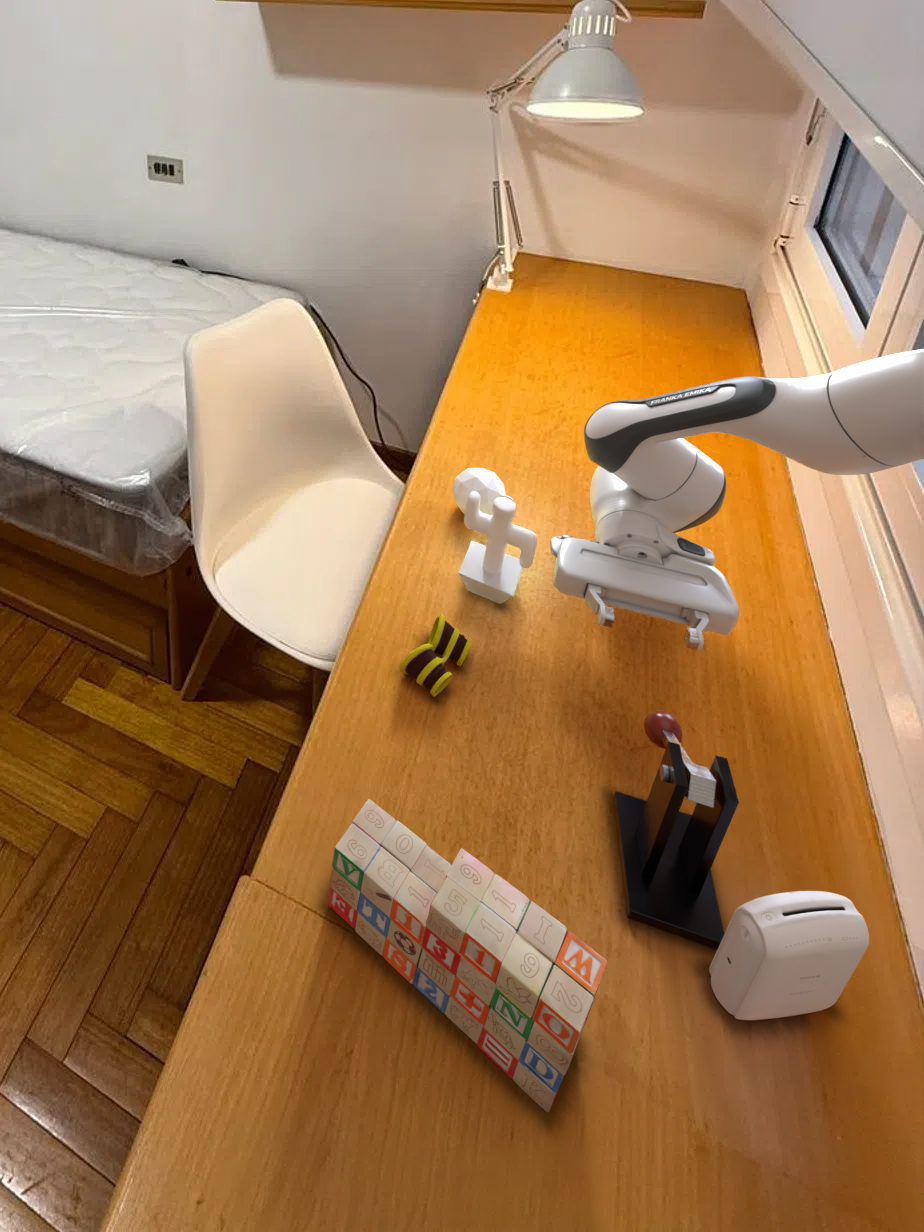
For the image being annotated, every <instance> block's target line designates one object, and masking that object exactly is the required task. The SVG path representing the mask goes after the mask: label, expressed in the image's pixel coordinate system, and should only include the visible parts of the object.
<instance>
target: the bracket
mask: <svg viewBox="0 0 924 1232" xmlns="http://www.w3.org/2000/svg"><path fill="white" fill-rule="evenodd" d="M709 771H710V772H711V774H712V775H713V777H714V778H715V779H716V781H717V785H716V794H715V803H714V808H712V807H709V806H706V805H702V804H699V803H696V802H695V805H694V808H693V811H692V813H691V814H689V813H686V812H683V811H681V808H682V805H683V802H684V800H685V798H686V797H685V795H686V792H687V790H688V782H687V778H686V773H685V768H684V763H683V758H682V754H681V749H680V745H679V744H677V743H673V742H670V741H668V744H667V747H666V749H664V752H663V754H662V758H661V761H660V763H659V766H658V768H657V772H656V774H655V777H654V780H653V783H652V785H651V788H650V791H649V794H648V797H647V799H646V800H645V799H642V798H638V797H636V796H633V795H630V794H626V793H623V792H620V791H617V790H614V793H613V795H612V802H613V803H612V804H613V811H614V818H615V827H616V835H617V843H618V851H619V858H620V867H621V876H622V882H623V883H622V884H623V892H624V893H623V894H624V900H625V907H626V916H627V918H628V919H629V920H633V921H634V922H635V921H636V922H639V923H641V924H644V925H646V926H649V927H652V928H655V929H658V930H660V931H664V932H666V933H670V934H672V935H674V936H677V937H680V938H683V939H686V940H688V941H691V942H695V943H696V944H701V945H703V946H705V947H708V948H711V949H714V950H716V951H717V950H718V948H719V945H720V943H721V941H722V939H723V937H724V934H725V931H724V927H723V923H722V917H721V912H720V906H719V902H718V898H717V894H716V890H715V889H716V888H715V884H714V879H713V875H712V874H713V873H712V870H711V869H712V866H713V864H714V861H715V859H716V857H717V855H718V853H719V850H720V848H721V846H722V843H723V841H724V838H725V836H726V834H727V832H728V829H729V827H730V824H731V822H732V820H733V817H734V816H735V813H736V811H737V808H738V806H739V804H740V801H739V798H738V797H739V796H738V794H737V789H736V786H735V782H734V778H733V775H732V771H731V767H730V763H729V759H728V758H727V757H724V756H721V755H717V754H715V756H714V758H713V761H712V764H711V766H710V769H709Z"/></svg>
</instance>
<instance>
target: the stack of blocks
mask: <svg viewBox="0 0 924 1232" xmlns="http://www.w3.org/2000/svg"><path fill="white" fill-rule="evenodd" d="M333 849H334V850H333V857H332V864H331V867H332V870H331V876H330V882H329V892H328V897H327V906H328V907H329V908H330V909H332V910H333V911H334V912H335V913H336V914H337V915H338V916H339V917H340V918H341V919H342V920H343V921H345V922H346V923H347V924H348V925H349V926H350V927H351V928H352V929H354V932H355V933H356V934H357V935H358V936H359V937H360V938H362V939H363V940H364V941H365V942H366V943H367V944H368V946H370V947H371V948H372V949H373V950H375V952H376V953H378V954H379V955H380V956H382V958H383V959H384V960H385V961H386V962H387V963H388V964H389V965H390V966H391V967H392V968H393V969H394V970H395V971H396V972H397V973H398V974H399V975H400V976H402V977H403V978H404V979H405V980H406V981H407V982H408V983H409V984H410V985H413V986H414V988H416V990H417V991H419V992H420V993H421V994H422V995H423V996H424V998H426V999H427V1000H429V1002H430V1003H432V1004H433V1005H434V1006H435V1007H436V1008H437V1009H438V1010H439V1011H440V1012H441V1013H443V1014H444V1015H445V1016H446V1018H448V1019H449V1020H450V1021H451V1022H452V1023H453V1024H455V1026H456V1027H457V1028H458V1029H460V1031H462V1032H463V1033H464V1034H465V1035H466V1036H467V1037H468V1038H469V1039H470V1040H471V1041H472V1042H473V1043H474V1044H476V1045H477V1047H478V1049H480V1051H482V1053H484V1054H485V1055H486V1056H487V1057H488V1058H489V1059H490V1060H491V1061H492V1062H493V1063H494V1064H495V1065H496V1066H497V1067H499V1068H500V1069H501V1070H502V1071H503V1072H504V1074H506V1075H507V1076H508V1077H509V1078H510V1079H512V1080H513V1082H514V1083H515V1084H516V1086H518V1087H519V1088H520V1089H521V1090H522V1091H523V1092H524V1093H525V1094H526V1095H528V1096H529V1097H530V1098H531V1099H532V1100H533V1101H534V1102H535V1103H536V1104H537V1105H538V1106H539V1107H540V1108H541V1109H542V1110H544V1111H545V1112H546V1113H550V1110H551V1109H552V1106H553V1104H554V1101H555V1098H556V1096H557V1093H558V1091H559V1088H560V1086H561V1084H562V1082H563V1080H564V1078H565V1075H567V1072H568V1070H569V1067H570V1065H571V1062H572V1060H573V1058H574V1055H575V1052H576V1049H577V1046H578V1043H579V1040H580V1038H581V1036H582V1033H583V1030H584V1028H585V1025H586V1024H587V1021H588V1018H589V1015H590V1012H591V1010H592V1007H593V1004H594V1000H595V998H596V995H597V992H598V990H599V987H600V983H601V980H602V977H603V974H604V972H605V969H606V968H607V967H606V966H607V964H608V960H607V959H606V958H605V957H603V956H602V955H600V954H599V953H598V952H597V951H595V950H594V949H593V948H592V947H590V946H589V945H588V944H586V943H585V941H583V940H582V939H580V938H579V937H578V936H576V935H574V934H573V932H571V931H569V930H568V928H567V926H566V925H564V924H563V923H561V922H560V921H559V920H558V919H557V918H555V917H554V916H553V915H551V914H550V913H549V912H547V911H546V910H545V909H544V908H542V907H541V906H539V905H538V904H537V903H535V902H534V901H532V900H530V899H529V897H528V896H527V895H526V894H524V893H523V892H522V891H521V890H519V889H518V888H516V887H515V886H514V885H512V884H511V883H510V882H508V881H507V880H505V879H504V878H503V877H502V876H501V875H500V874H496V873H495V872H494V871H493V870H492V869H491V868H489V867H488V866H486V865H485V864H484V863H482V862H481V861H480V860H478V859H477V858H476V857H475V856H474V855H472V854H470V853H469V852H468V851H467V850H465V849H464V848H462V847H460V849H459V851H458V853H457V855H456V857H455V858H454V860H453V861H452V863H451V862H449V861H448V860H447V859H446V858H444V857H443V856H442V855H440V853H438V852H437V851H436V850H434V849H433V848H431V847H430V846H429V845H428V844H427V842H425V841H424V840H423V839H422V838H421V837H419V836H418V835H416V833H414V832H413V831H411V829H409V828H408V827H407V826H406V825H404V824H403V823H402V822H400V821H399V820H396V819H395V818H394V817H393V816H392V815H391V814H390V813H388V812H387V811H386V810H384V809H383V808H382V807H381V806H379V805H378V804H377V803H376V802H374V801H373V800H372V799H370V798H368V799H367V800H366V802H365V803H364V804H363V805H362V807H361V808H360V810H359V812H358V813H357V814H356V816H355V817H354V819H353V820H352V822H351V823H350V825H349V827H348V828H347V829H346V830H345V832H344V833H343V835H342V836H341V838H340V839H339V841H337V843H336V845H335V846H334V848H333Z"/></svg>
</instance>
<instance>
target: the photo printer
mask: <svg viewBox="0 0 924 1232" xmlns="http://www.w3.org/2000/svg"><path fill="white" fill-rule="evenodd" d="M869 945H870V934H869V928H868V925H867V923H866V919H865V918H864V916H863V915H862V914H861V913H860V912H859V911H858V909H857V908H856V906H855V905H854V903H853V901H852V900H851V899H849V898H848V897H846V896H844V895H842V894H839V893H834V892H830V891H822V890H796V891H795V890H794V891H785V892H780V893H778V892H777V893H773V894H768V895H764V896H760V897H757V898H754V899H752V900H749V901H747V902H745V903H743V904H741V905H740V906H738V907H736V909H735V910H734V912H733V915H732V917H731V920H730V921H729V923H728V926H727V928H726V930H725V931H724V937H723V939H722V941H721V943H720V945H719V948H718V950H716V952H715V954H714V957H713V959H712V961H711V963H710V965H709V968H708V972H709V975H710V976H711V977H710V985H711V989H712V991H713V994H714V996H715V998H716V1000H717V1001H718V1003H720V1005H721V1006H722V1007H723V1009H724V1010H726V1012H727V1013H729V1014H730V1015H731V1016H733V1017H734V1018H735V1019H736V1020H740V1021H759V1020H769V1019H779V1018H787V1017H794V1016H799V1015H806V1014H811V1013H816V1012H821V1011H823V1010H827V1009H829V1008H831V1007H832V1006H834V1005H835V1004H836V1003H837V1001H838V1000H839V998H840V996H841V995H842V993H843V992H844V989H845V987H847V985H848V983H849V981H850V979H851V977H852V975H853V974H854V972H855V971H856V969H857V967H858V965H859V964H860V961H861V960H862V958H863V957H864V954H865V952H866V951H867V949H868V947H869Z"/></svg>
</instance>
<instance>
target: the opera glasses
mask: <svg viewBox="0 0 924 1232" xmlns="http://www.w3.org/2000/svg"><path fill="white" fill-rule="evenodd" d="M472 643H473V640H472V638H469V637H468V638H466V637H465V635H464V634H461V631H460V630H459V629H458V628H457V627H456V626H455V627H454V626H452V624H450V623H449V622H448V621H446V616H445V615H444V614H441V613H440V614H438V615H437V617H436V618H435V620H434V622H433V624H432V627H431V631H430V635H429V639H428V642H427V643H424V644H421V645H419V646H418V647H416V648H414V649H413V650H412V651H411V652H409V653H408V654H407V655H406V656H405V657H404V658H403V660H402V661H401V663H400V665H399V670H400V672H401V673H402V674H403V675H409V676H410V677H412V678H413V679H414V680H416V681H415V682H416V683H417V684H418V685H419V686H421V687H424V689H425V690H429V693H430V695H431V696H432V697H433V698H435V697H436V696H437V695H439V694H440V693H441V692H442V691H443V690H444V689H445V688H446V687H447V686H448V684H450V682H451V680H452V679H453V674H452V673H451V671H447V668H446V666H444V665H445V664H446V662H447V661H448V660H450V661H451V662H456V665H457V666H459V667H461V666H462V665H463V663H464V661H465V659H466V657H467V655H468V653H469V650H470V648H471V645H472ZM437 655H438V656H437Z"/></svg>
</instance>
